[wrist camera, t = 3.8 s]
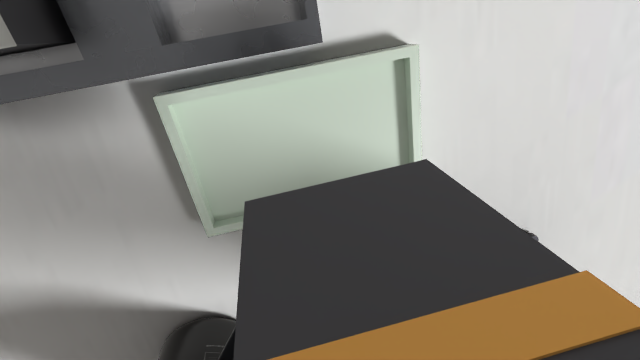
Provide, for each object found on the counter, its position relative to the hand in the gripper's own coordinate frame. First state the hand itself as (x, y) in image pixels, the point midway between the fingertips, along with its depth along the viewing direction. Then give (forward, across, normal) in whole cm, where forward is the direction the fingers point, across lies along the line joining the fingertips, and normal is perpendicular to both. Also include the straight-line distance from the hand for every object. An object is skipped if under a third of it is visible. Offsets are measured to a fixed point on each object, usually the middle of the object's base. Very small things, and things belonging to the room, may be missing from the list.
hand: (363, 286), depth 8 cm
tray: (+12, 0, 0) cm, 12 cm away
